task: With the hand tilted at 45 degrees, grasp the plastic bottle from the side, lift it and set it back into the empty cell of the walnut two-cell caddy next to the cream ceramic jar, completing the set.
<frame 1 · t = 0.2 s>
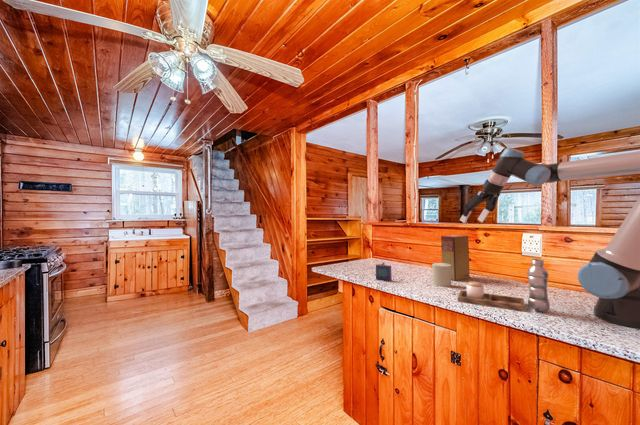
hand: (471, 221, 130), 35 cm above the table, tool tilted 35°, fingers open, 13 cm apart
jar: (475, 300, 115), point 1 cm above the table, touching caddy
plastic bottle: (538, 311, 104), on the table
caddy: (490, 304, 112), on the table
can: (441, 286, 140), on the table
flask: (383, 280, 155), on the table
food packaging: (455, 278, 156), on the table
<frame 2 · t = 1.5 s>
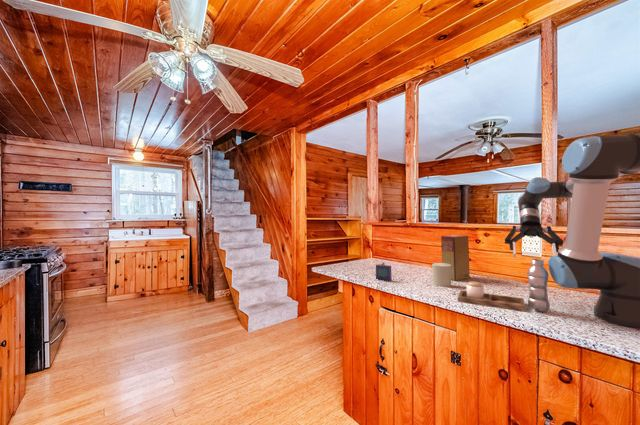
hand: (534, 256, 113), 20 cm above the table, tool tilted 45°, fingers open, 13 cm apart
nothing on the table moved.
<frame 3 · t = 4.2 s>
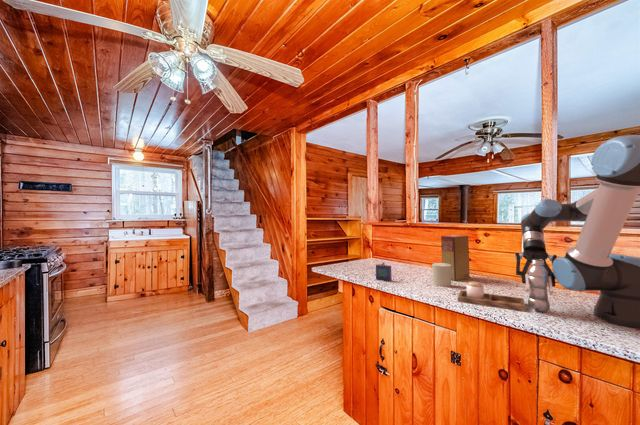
hand: (539, 291, 101), 8 cm above the table, tool tilted 45°, fingers closed on plastic bottle, 6 cm apart
plastic bottle: (538, 311, 104), on the table, touching gripper
everything else where it was.
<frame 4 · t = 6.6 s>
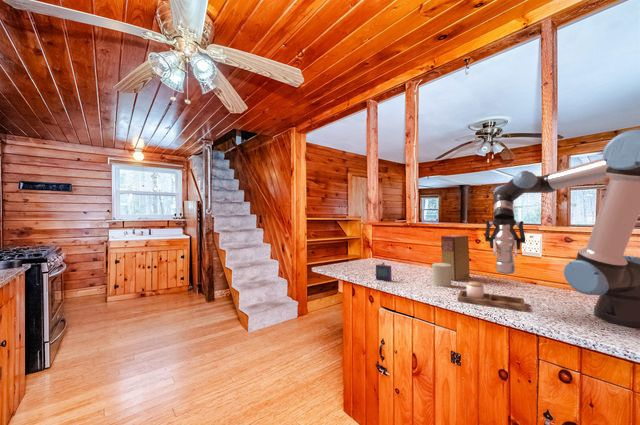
hand: (505, 254, 106), 22 cm above the table, tool tilted 45°, fingers closed on plastic bottle, 6 cm apart
plastic bottle: (505, 274, 109), point 13 cm above the table, touching gripper
everything else where it was.
when the fingers open (11 cm above the table, at t = 8.9 s): plastic bottle drops 1 cm, resting on caddy.
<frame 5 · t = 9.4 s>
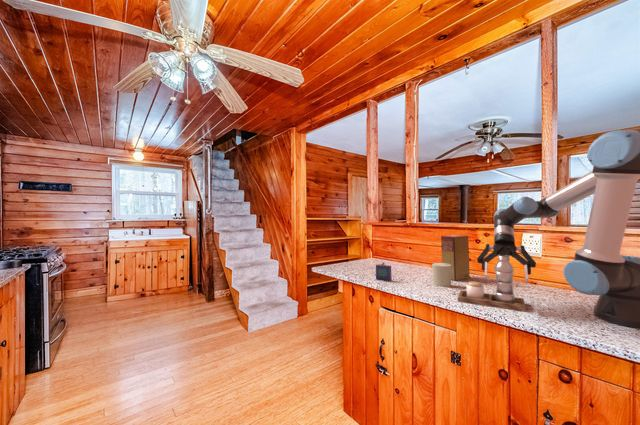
hand: (505, 278, 107), 12 cm above the table, tool tilted 45°, fingers open, 13 cm apart
plastic bottle: (505, 304, 109), point 1 cm above the table, touching caddy
everything else where it was.
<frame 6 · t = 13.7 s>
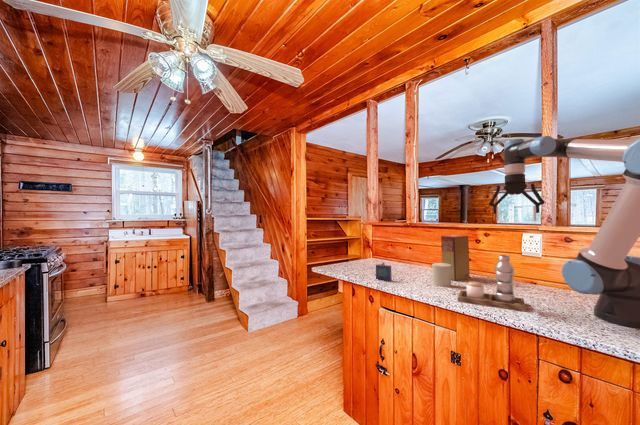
hand: (515, 220, 121), 35 cm above the table, tool pointing down, fingers open, 13 cm apart
nothing on the table moved.
at the end: plastic bottle inside the target area on the caddy (0.3 cm from its centre), point 0.8 cm above the caddy's base; plastic bottle tilted 0°; the gripper is holding nothing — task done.
